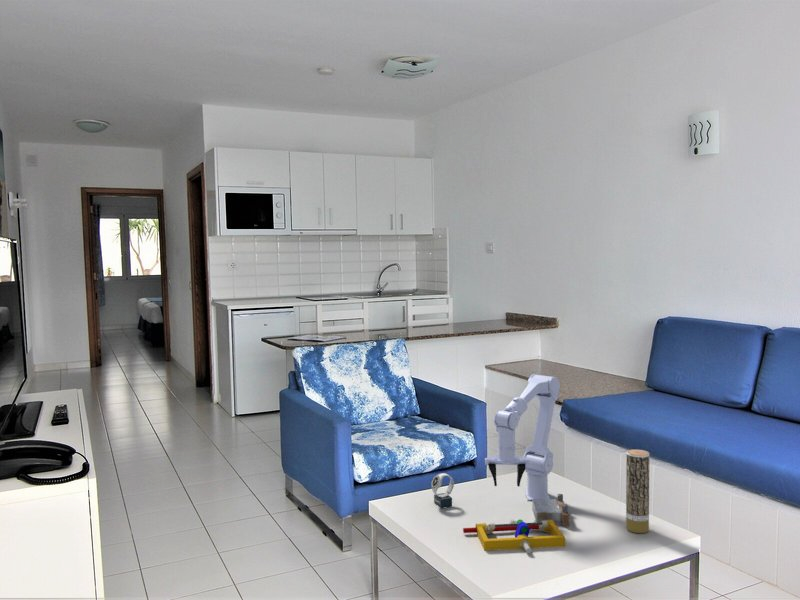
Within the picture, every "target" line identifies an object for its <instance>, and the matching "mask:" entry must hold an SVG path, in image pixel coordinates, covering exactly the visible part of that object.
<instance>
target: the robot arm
mask: <svg viewBox="0 0 800 600" xmlns="http://www.w3.org/2000/svg"><path fill="white" fill-rule="evenodd" d="M560 387H561V383H560V381H559V379H558V377H556V376H549V375H542V374H541V375H540V374H536V373H533V374H531V375H530V377H529V378H528V380H527V386H526V388H524V390H523V391H522V393H521V394H520V396H518V397H513V399H512V400H511V401H510V402H509V403H508V405H506V406H505V408H503V410H502V409H501V410H499V411H497V412H496V414H495V416H494V419H493V422H494V423H493V424H494V425H495V428H496V432H497V456H494V457H485V458H484V465H485V466H488V469H489V471H490V473H491V476H492V479H493V482H494V483H493V484H494V487H497V486H498V485H497V465H501V466H502V465H503V466H504V465H506V466H507V465H509V466H511V465H512V466H513V465H514V466H515V465H516V469H517V472H516V473H517V476H516V477H517V478H516V486H517V487H521V481H522V478H523V474H524V472H525V473H526V476H527V477H526V478H527V479H526V480H527V482H526V483H527V484H526V485H527V487H526V489H524V493H525V496H526V500H528V501H532V499H551V497H550V495H549V492H548V491H549V490H548V489H549V488H548V487H549V485H548V481H549V480H548V478H549V477H548V475H549V474H551V472H552V470H553V467H554V461H553V459H554V458H553V457H554V454H553V452H552V451H551V450H550V449H549V448H548V445H549V438H550V431H551V426H552V421H553V416H554V410H555V409H554V408H555V404H556V401H558V398H559V395H560V393H559V392H560ZM535 397H536V398H537V399H538V400H539V401H540V402H539V408H538V413H537V417H536V424H535V430H534V436H533V439H532V440H533V441H532V444H530V445H529V446H527V447H526V448H525V451H524V454H523V456H522V457H517V456H516V428H517V427H518V425H519V422H520V421H521V417H522V416H523V415H524V414H525V412H526V411H527V410H528V404H529V403H530V402H531V401H532V400H533V399H534V398H535Z"/></svg>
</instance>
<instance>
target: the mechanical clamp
mask: <svg viewBox="0 0 800 600" xmlns="http://www.w3.org/2000/svg"><path fill="white" fill-rule="evenodd" d="M533 530H537V531H538V532H543V533H549V534H550V535H539V536H535V535H534V536H529V534H530V531H533ZM510 531H511V532H513V531H515V533H514V537H503V538H502V537H500V538H499V537H498V538H488V536H487V535H490V534H491V535H492V534H493V532H510ZM462 532H463V534H471V533H477V534H476V536H477V538H478V540H479V543H480V544H481V547H482V548H483V550H484V551H499V550H498V549H504V550H521V549H520V548H523V549H524V550H525V552H526V553H527V554H530V553H532V549H540V547H543V548H557V547H561V548H562V547H565V546H566V537H565V535H564V534H563V532H562V531H561V530H560V529H559V527H558V524H557V523H555V524H554V521H553V520H543V521H541V522H536V521H535V522H524V520H523V519H518V520H517V521H516V523H500V524H499V523H498V524H495V523H493V522H490V523H489V524H487V523H486V522H485V523H484V522H483V523H475V527H463V528H462Z"/></svg>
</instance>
